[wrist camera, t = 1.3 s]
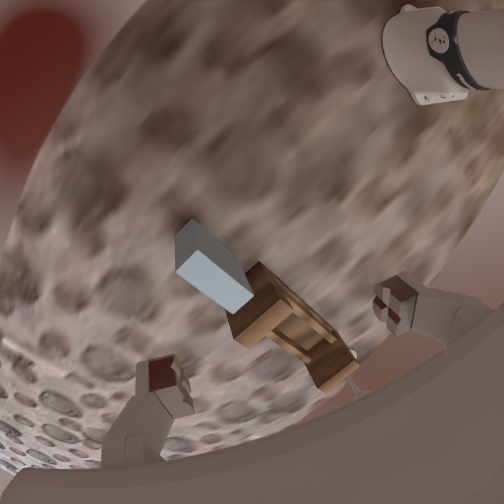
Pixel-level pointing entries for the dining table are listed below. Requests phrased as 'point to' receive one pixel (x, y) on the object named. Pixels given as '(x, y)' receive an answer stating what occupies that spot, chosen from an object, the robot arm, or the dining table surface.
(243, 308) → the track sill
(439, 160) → the dining table surface
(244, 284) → the door panel
